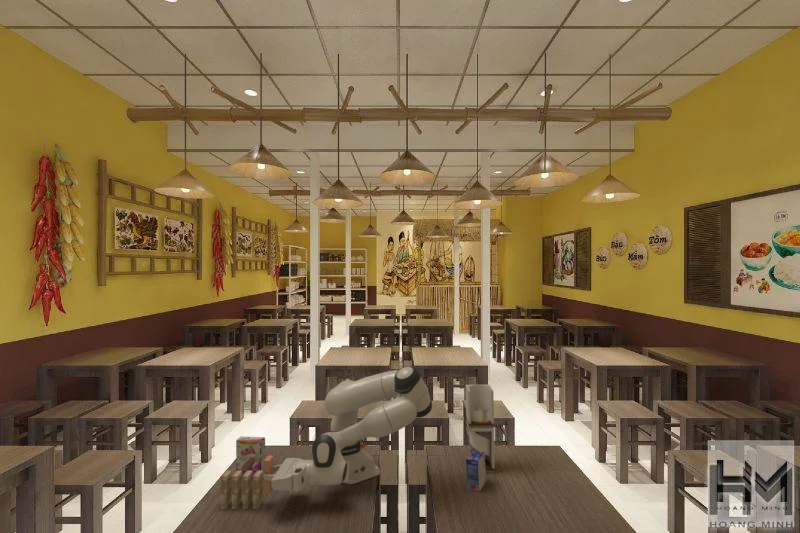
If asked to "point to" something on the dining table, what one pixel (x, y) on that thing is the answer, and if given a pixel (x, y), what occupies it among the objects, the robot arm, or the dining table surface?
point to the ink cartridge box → (475, 470)
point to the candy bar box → (250, 454)
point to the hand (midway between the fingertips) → (266, 472)
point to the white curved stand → (481, 422)
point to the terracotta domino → (269, 469)
